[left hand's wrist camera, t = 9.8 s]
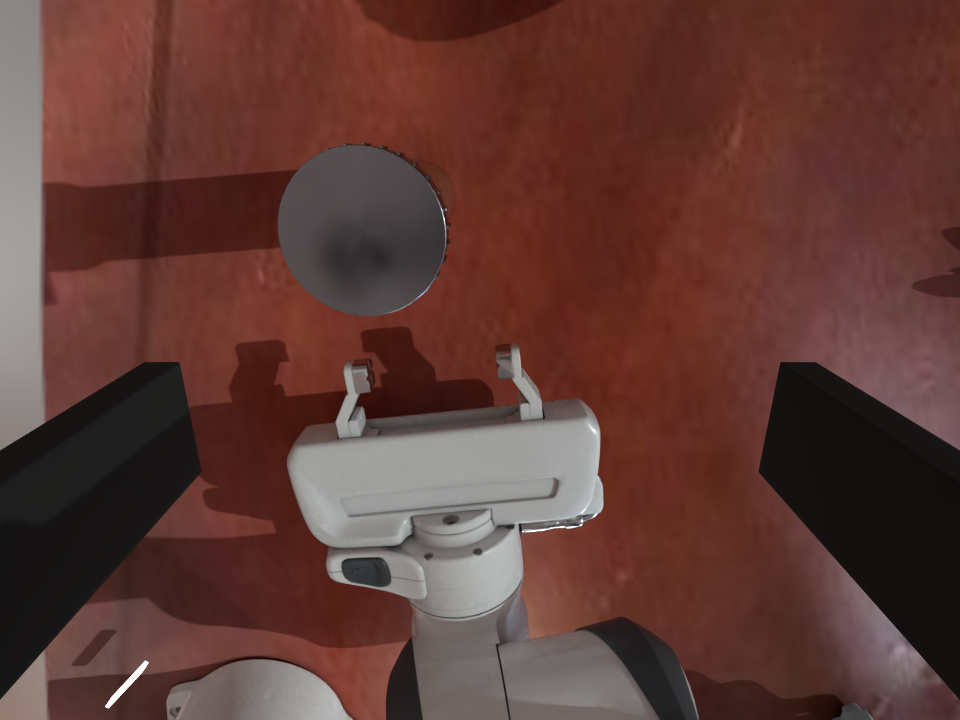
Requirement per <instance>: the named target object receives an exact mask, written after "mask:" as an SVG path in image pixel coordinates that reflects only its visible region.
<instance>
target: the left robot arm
mask: <svg viewBox="0 0 960 720" xmlns="http://www.w3.org/2000/svg"><path fill="white" fill-rule="evenodd" d="M200 473H201V467H200V462H199V457H198V452H197V447H196V442H195V437H194V432H193V427H192V422H191V417H190V412H189V407H188V402H187V397H186V392H185V387H184V382H183V377H182V373H181V368H180V363H179V362H144V363H142V364H141V365H139V366H137V367H136V368H134V369H133V370H131V371H129V372H128V373H126V374H124V375H123V376H121V377H119V378H118V379H116V380H115V381H113V382H111V383H110V384H108V385H106V386H105V387H103V388H102V389H100V390H98V391H97V392H95V393H93V394H92V395H90V396H88V397H87V398H85V399H84V400H82V401H80V402H79V403H77V404H75V405H74V406H72V407H70V408H69V409H67V410H66V411H64V412H62V413H61V414H59V415H57V416H56V417H54V418H52V419H51V420H49V421H48V422H46V423H44V424H43V425H41V426H39V427H38V428H36V429H35V430H33V431H31V432H30V433H28V434H26V435H25V436H23V437H21V438H20V439H18V440H17V441H15V442H13V443H12V444H10V445H8V446H7V447H5V448H3V449H2V450H0V699H1V698H2V697H3V696H4V695H5V694H6V692H7V691H8V690H9V689H10V688H11V687H12V686H13V685H14V683H15V682H16V681H17V680H18V679H19V678H20V677H21V675H22V674H23V673H24V672H25V671H26V670H27V669H28V668H29V666H30V665H31V664H32V663H33V662H34V661H35V660H36V659H37V657H38V656H39V655H40V654H41V653H42V652H43V651H44V649H45V648H46V647H47V646H48V645H49V644H50V643H51V642H52V640H53V639H54V638H55V637H56V636H57V635H58V634H59V633H60V631H61V630H62V629H63V628H64V627H65V626H66V625H67V623H68V622H69V621H70V620H71V619H72V618H73V617H74V616H75V614H76V613H77V612H78V611H79V610H80V609H81V608H82V606H83V605H84V604H85V603H86V602H87V601H88V600H89V599H90V597H91V596H92V595H93V594H94V593H95V592H96V591H97V590H98V588H99V587H100V586H101V585H102V584H103V583H104V582H105V580H106V579H107V578H108V577H109V576H110V575H111V574H112V573H113V571H114V570H115V569H116V568H117V567H118V566H119V565H120V564H121V562H122V561H123V560H124V559H125V558H126V557H127V556H128V554H129V553H130V552H131V551H132V550H133V549H134V548H135V547H136V545H137V544H138V543H139V542H140V541H141V540H142V539H143V538H144V536H145V535H146V534H147V533H148V532H149V531H150V530H151V528H152V527H153V526H154V525H155V524H156V523H157V522H158V521H159V519H160V518H161V517H162V516H163V515H164V514H165V513H166V511H167V510H168V509H169V508H170V507H171V506H172V505H173V504H174V502H175V501H176V500H177V499H178V498H179V497H180V496H181V495H182V493H183V492H184V491H185V490H186V489H187V488H188V487H189V485H190V484H191V483H192V482H193V481H194V480H195V479H196V478H197V476H198V475H199V474H200ZM759 473H760V474H761V475H762V476H763V478H764V479H765V480H766V481H767V482H768V483H769V484H770V485H771V487H772V488H773V489H774V490H775V491H776V492H777V493H778V495H779V496H780V497H781V498H782V499H783V500H784V501H785V502H786V504H787V505H788V506H789V507H790V508H791V509H792V510H793V511H794V513H795V514H796V515H797V516H798V517H799V518H800V519H801V521H802V522H803V523H804V524H805V525H806V526H807V527H808V528H809V530H810V531H811V532H812V533H813V534H814V535H815V536H816V538H817V539H818V540H819V541H820V542H821V543H822V544H823V545H824V547H825V548H826V549H827V550H828V551H829V552H830V553H831V554H832V556H833V557H834V558H835V559H836V560H837V561H838V562H839V564H840V565H841V566H842V567H843V568H844V569H845V570H846V571H847V573H848V574H849V575H850V576H851V577H852V578H853V579H854V580H855V582H856V583H857V584H858V585H859V586H860V587H861V588H862V590H863V591H864V592H865V593H866V594H867V595H868V596H869V597H870V599H871V600H872V601H873V602H874V603H875V604H876V605H877V606H878V608H879V609H880V610H881V611H882V612H883V613H884V614H885V616H886V617H887V618H888V619H889V620H890V621H891V622H892V623H893V625H894V626H895V627H896V628H897V629H898V630H899V631H900V633H901V634H902V635H903V636H904V637H905V638H906V639H907V640H908V642H909V643H910V644H911V645H912V646H913V647H914V648H915V649H916V651H917V652H918V653H919V654H920V655H921V656H922V657H923V659H924V660H925V661H926V662H927V663H928V664H929V665H930V666H931V668H932V669H933V670H934V671H935V672H936V673H937V674H938V675H939V677H940V678H941V679H942V680H943V681H944V682H945V683H946V685H947V686H948V687H949V688H950V689H951V690H952V691H953V692H954V694H955V695H956V696H957V697H958V698H959V699H960V450H958V449H957V448H955V447H953V446H952V445H950V444H948V443H947V442H945V441H943V440H942V439H940V438H939V437H937V436H935V435H934V434H932V433H930V432H929V431H927V430H925V429H924V428H922V427H921V426H919V425H917V424H916V423H914V422H912V421H911V420H909V419H908V418H906V417H904V416H903V415H901V414H899V413H898V412H896V411H894V410H893V409H891V408H890V407H888V406H886V405H885V404H883V403H881V402H880V401H878V400H876V399H875V398H873V397H872V396H870V395H868V394H867V393H865V392H863V391H862V390H860V389H858V388H857V387H855V386H854V385H852V384H850V383H849V382H847V381H845V380H844V379H842V378H840V377H839V376H837V375H836V374H834V373H832V372H831V371H829V370H827V369H826V368H824V367H823V366H821V365H819V364H818V363H816V362H781V363H780V368H779V372H778V377H777V382H776V387H775V392H774V397H773V402H772V407H771V412H770V417H769V422H768V427H767V432H766V437H765V442H764V447H763V452H762V457H761V462H760V467H759Z"/></svg>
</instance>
